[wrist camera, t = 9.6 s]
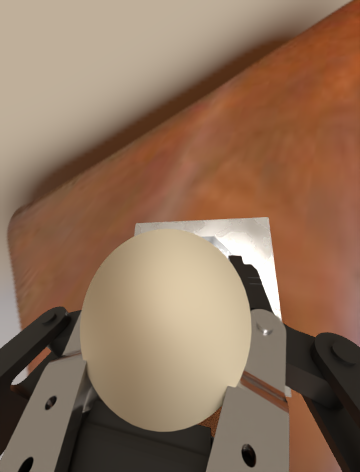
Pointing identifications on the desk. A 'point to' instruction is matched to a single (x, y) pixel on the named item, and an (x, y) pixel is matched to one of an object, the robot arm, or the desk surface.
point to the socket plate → (235, 247)
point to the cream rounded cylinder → (165, 330)
